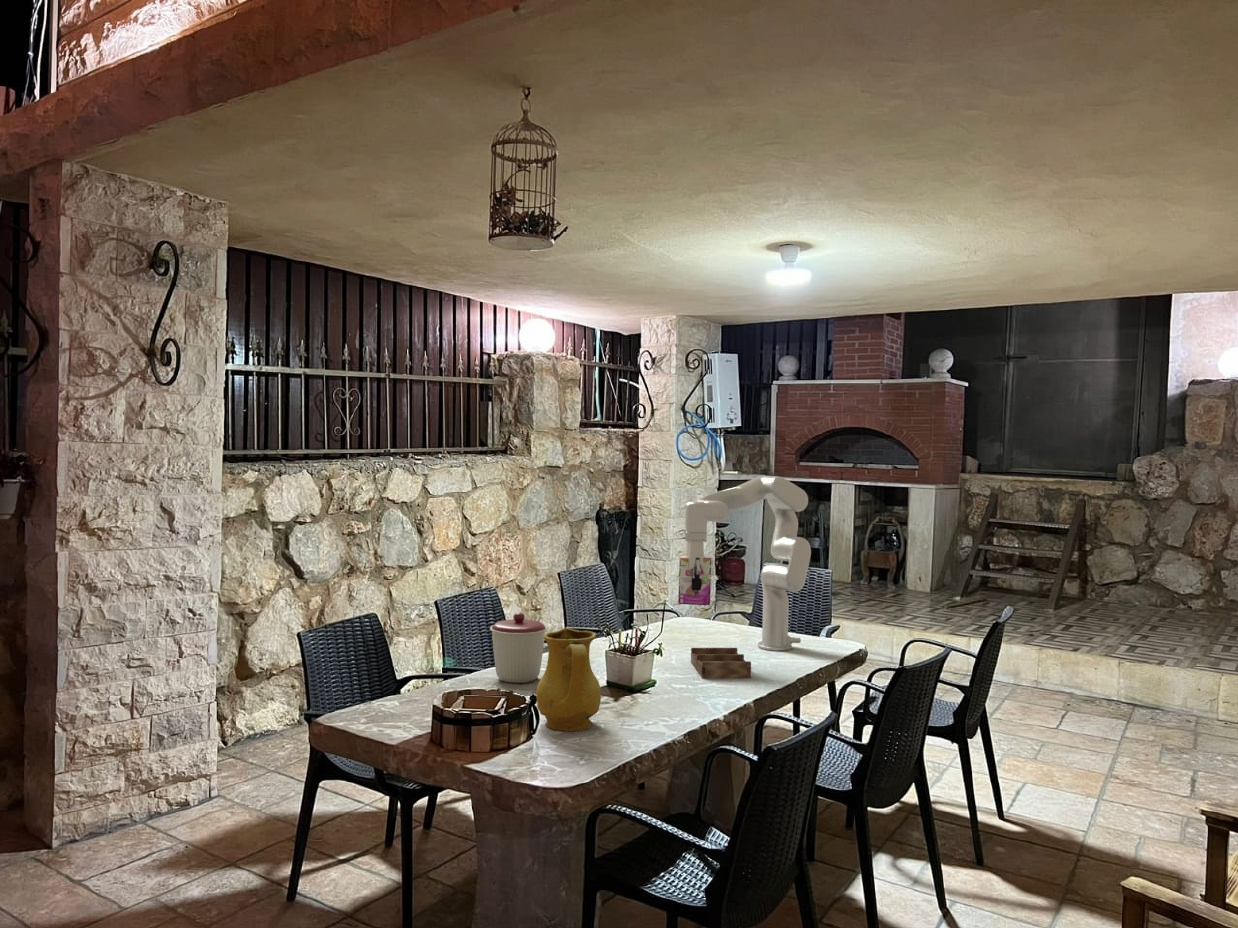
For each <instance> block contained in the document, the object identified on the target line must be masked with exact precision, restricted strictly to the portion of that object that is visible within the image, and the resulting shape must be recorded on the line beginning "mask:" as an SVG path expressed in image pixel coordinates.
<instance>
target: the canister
mask: <svg viewBox="0 0 1238 928" xmlns="http://www.w3.org/2000/svg"><path fill="white" fill-rule="evenodd" d="M525 617H526V616H525V614H524V613H523V612H516V613H514V615H513V617H512V618H513V619H505V620H501V621H497V622H495V623H494V624H493V625H491V626H490V627H489V630H490V632H491V634H492V635H491V636H492V637H491V639H492V647H493V649H492V650H493V658H494V666H495V667H494V668H495V673H496V676H497V677H498V679H499V680H500V681H503V682H506V683H510V684H522V683H523V684H524V683H525V684H526V683H530V682H533V681H535V680H536V679H537V678H538V677H539V675H540V673H541V669H542V668H541V667H542V660H543V653H544V647H545V646H544V645H545V639H544V635H546V632H547V630H548V626H547V625H545V624H544V623H542V622H541V621H538V620H533V619H525Z"/></svg>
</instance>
